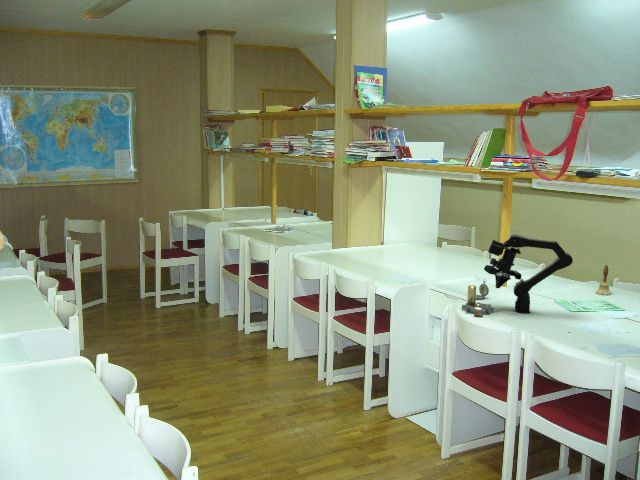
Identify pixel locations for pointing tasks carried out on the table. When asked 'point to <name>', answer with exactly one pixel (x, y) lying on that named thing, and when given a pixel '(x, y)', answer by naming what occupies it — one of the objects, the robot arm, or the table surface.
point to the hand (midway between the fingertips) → (497, 288)
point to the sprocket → (476, 307)
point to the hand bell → (604, 284)
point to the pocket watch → (482, 289)
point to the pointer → (478, 315)
